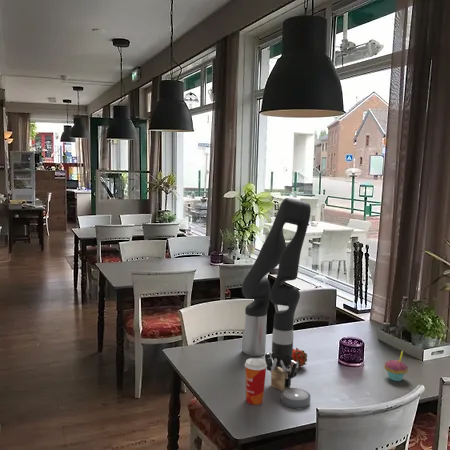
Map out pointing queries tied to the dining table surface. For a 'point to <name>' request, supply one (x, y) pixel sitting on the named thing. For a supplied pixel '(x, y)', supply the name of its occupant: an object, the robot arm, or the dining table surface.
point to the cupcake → (396, 369)
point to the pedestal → (295, 398)
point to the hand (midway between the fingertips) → (280, 384)
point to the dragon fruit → (299, 357)
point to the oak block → (278, 379)
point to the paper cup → (255, 380)
